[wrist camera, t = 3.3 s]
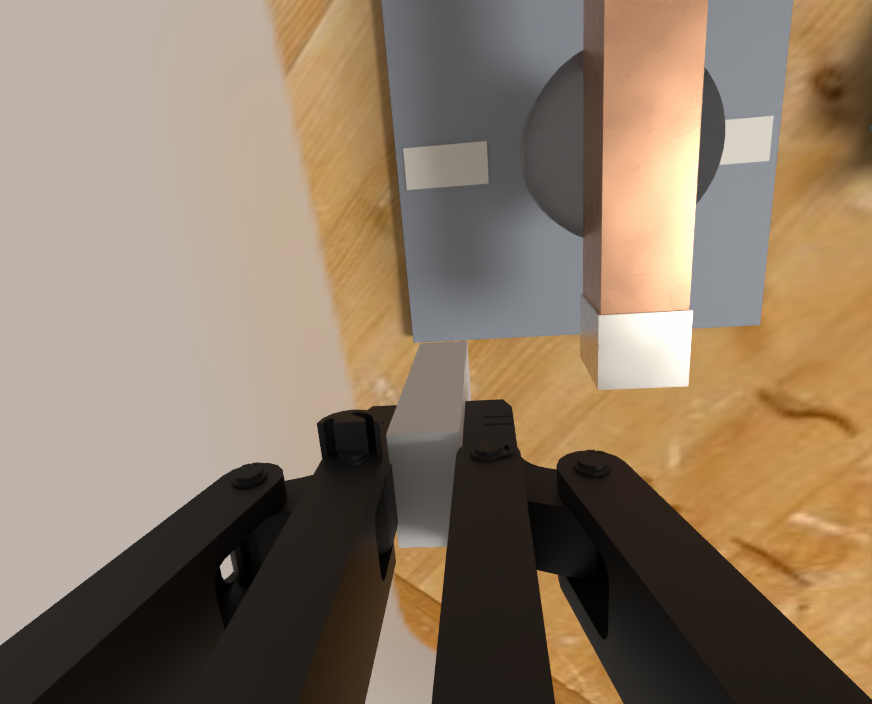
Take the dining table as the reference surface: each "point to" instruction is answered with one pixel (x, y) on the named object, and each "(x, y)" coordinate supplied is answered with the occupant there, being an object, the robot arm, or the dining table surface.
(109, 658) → the robot arm
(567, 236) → the striped base plate
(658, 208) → the t handle
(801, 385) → the dining table surface
